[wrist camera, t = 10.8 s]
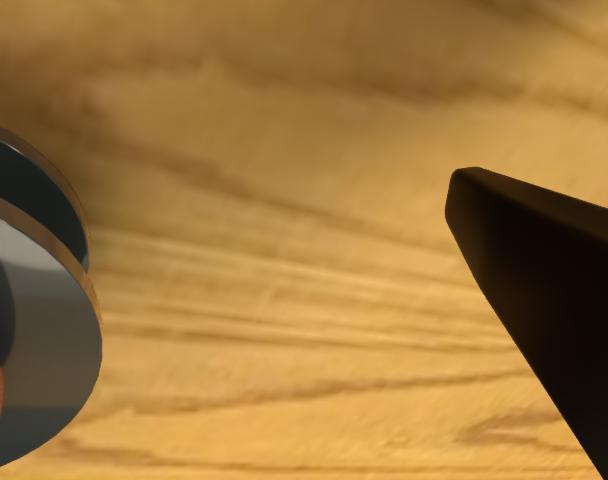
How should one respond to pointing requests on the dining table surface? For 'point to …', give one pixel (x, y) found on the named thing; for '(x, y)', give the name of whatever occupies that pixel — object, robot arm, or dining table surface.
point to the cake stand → (42, 301)
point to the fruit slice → (1, 389)
